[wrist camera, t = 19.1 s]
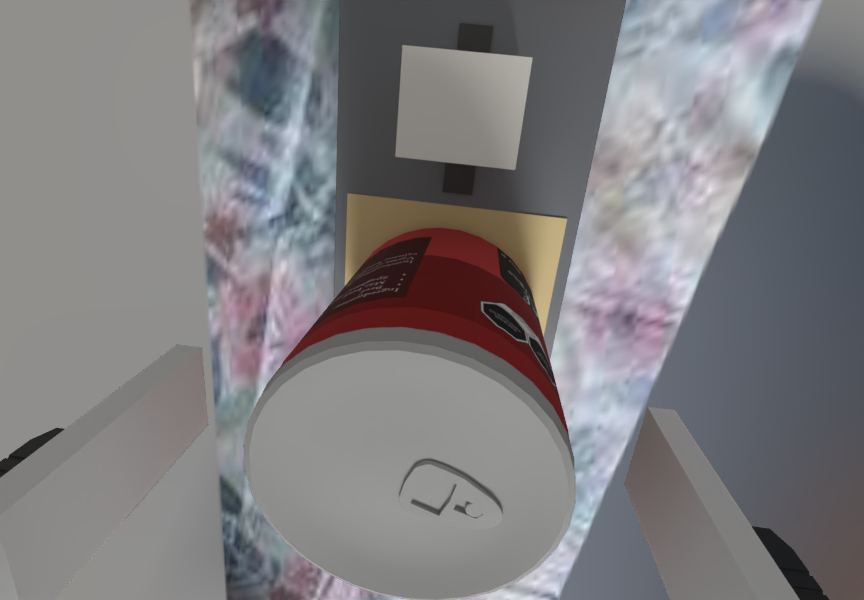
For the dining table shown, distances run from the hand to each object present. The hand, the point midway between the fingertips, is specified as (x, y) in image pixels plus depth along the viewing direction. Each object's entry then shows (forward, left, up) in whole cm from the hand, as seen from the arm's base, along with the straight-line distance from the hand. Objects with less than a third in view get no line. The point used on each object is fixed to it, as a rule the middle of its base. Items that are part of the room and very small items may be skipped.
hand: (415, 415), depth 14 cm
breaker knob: (+8, 0, -7) cm, 11 cm away
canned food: (0, 0, -8) cm, 8 cm away
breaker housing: (+3, 0, -12) cm, 12 cm away
